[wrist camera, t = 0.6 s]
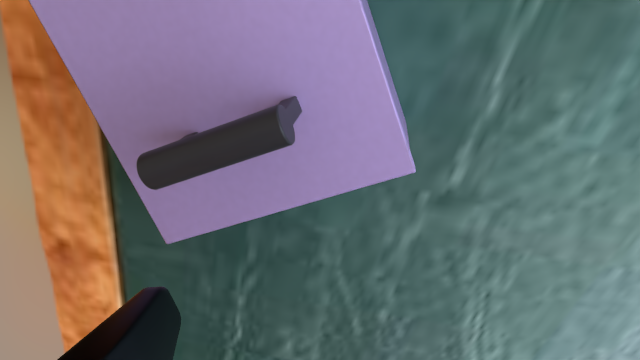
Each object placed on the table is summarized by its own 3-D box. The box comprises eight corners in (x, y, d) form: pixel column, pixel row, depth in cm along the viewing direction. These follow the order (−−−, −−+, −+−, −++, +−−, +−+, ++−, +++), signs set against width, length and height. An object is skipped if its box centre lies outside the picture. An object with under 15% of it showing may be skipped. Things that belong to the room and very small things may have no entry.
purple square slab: (414, 165, 19) (423, 216, 14) (173, 236, 22) (123, 295, 17) (273, -272, 14) (224, -388, 9) (-13, -98, 17) (-145, -127, 13)
